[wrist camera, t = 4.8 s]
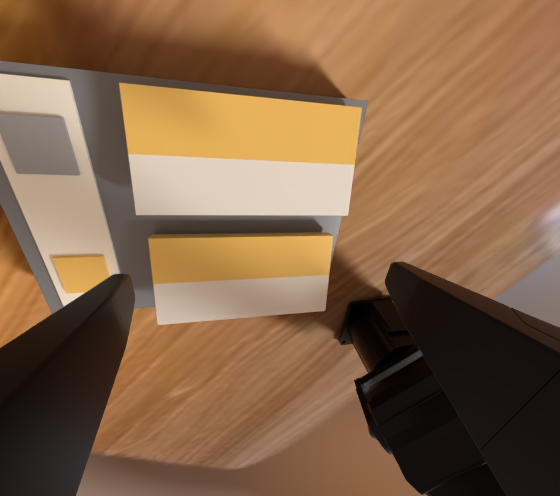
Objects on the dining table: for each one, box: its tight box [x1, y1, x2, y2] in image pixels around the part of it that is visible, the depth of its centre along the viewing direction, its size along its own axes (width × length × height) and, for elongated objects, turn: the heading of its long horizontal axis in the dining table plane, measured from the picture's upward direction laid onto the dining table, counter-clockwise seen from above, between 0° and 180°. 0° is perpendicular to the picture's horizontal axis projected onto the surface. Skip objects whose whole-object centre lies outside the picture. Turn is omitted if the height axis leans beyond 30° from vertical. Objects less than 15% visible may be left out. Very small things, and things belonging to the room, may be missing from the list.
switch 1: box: [119, 83, 362, 216], centre depth 14 cm, size 6×12×1 cm, turn 83°
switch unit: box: [0, 61, 368, 314], centre depth 18 cm, size 15×20×4 cm
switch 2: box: [148, 232, 333, 325], centre depth 18 cm, size 6×12×1 cm, turn 83°
